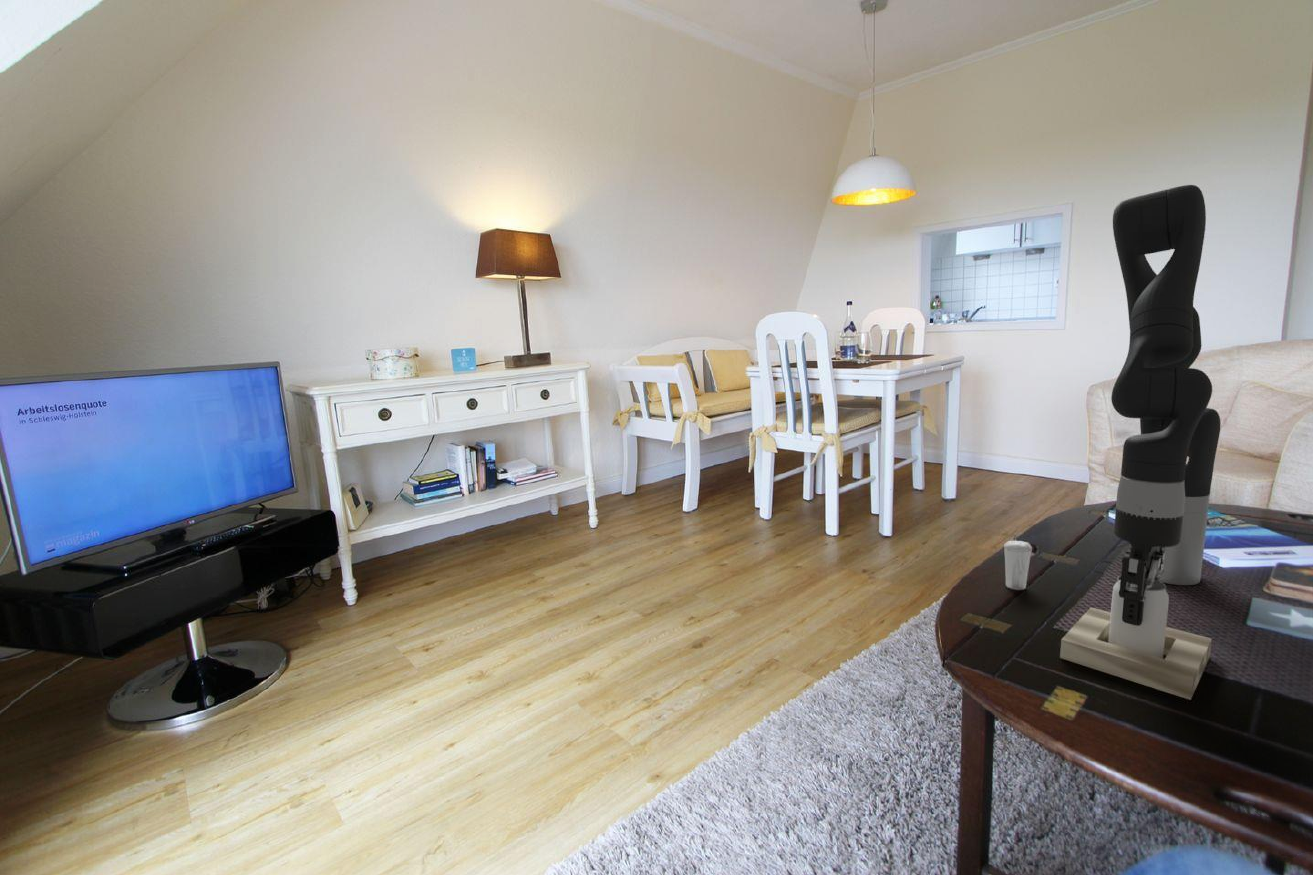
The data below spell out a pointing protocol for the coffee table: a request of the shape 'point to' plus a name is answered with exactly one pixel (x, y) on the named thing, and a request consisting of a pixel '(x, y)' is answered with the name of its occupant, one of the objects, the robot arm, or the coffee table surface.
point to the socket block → (1138, 655)
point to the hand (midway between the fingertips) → (1138, 613)
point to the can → (1153, 624)
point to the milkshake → (1017, 563)
